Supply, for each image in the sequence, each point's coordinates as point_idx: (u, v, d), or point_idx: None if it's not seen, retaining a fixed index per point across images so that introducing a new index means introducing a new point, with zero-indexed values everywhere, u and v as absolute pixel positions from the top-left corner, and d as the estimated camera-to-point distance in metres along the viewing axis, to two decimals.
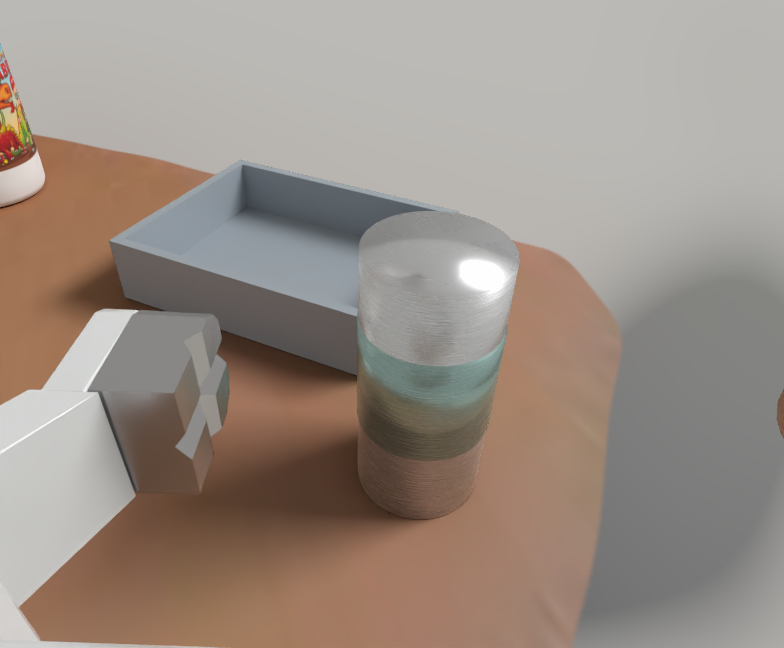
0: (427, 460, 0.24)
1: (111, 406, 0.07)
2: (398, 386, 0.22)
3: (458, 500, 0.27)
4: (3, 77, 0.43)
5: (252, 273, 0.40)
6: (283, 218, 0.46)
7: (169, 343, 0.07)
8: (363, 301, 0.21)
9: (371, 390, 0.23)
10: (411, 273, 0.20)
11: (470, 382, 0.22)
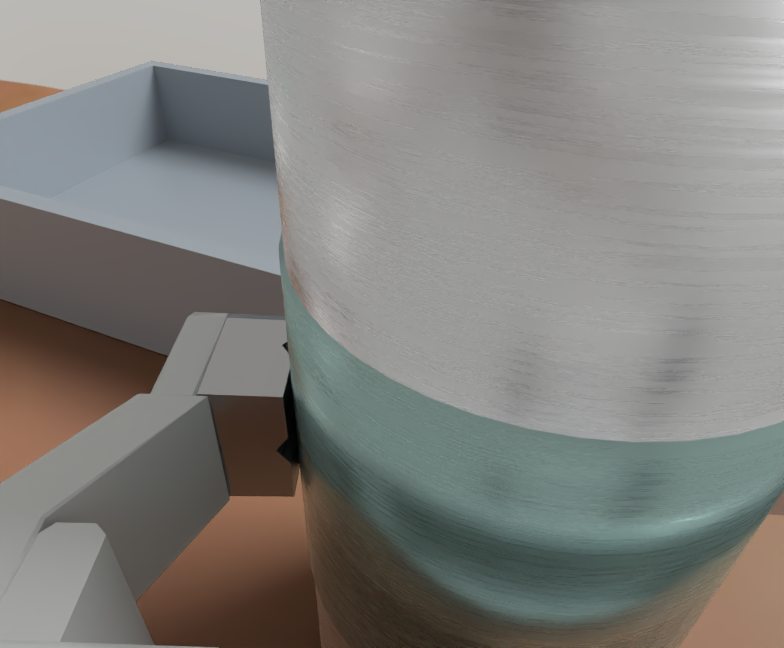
0: None
1: (218, 410, 0.07)
2: (444, 515, 0.05)
3: None
4: None
5: None
6: (222, 153, 0.29)
7: (268, 346, 0.07)
8: (281, 138, 0.05)
9: (336, 511, 0.06)
10: None
11: (760, 498, 0.05)
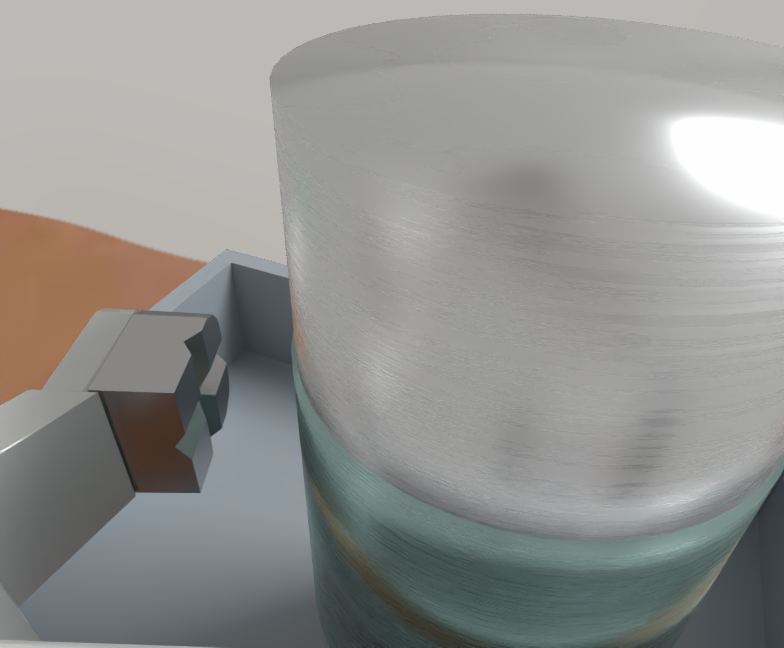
0: None
1: (111, 406, 0.07)
2: (434, 590, 0.06)
3: None
4: None
5: (261, 609, 0.14)
6: None
7: (169, 343, 0.07)
8: (296, 283, 0.06)
9: (342, 576, 0.07)
10: (499, 136, 0.04)
11: (699, 575, 0.06)
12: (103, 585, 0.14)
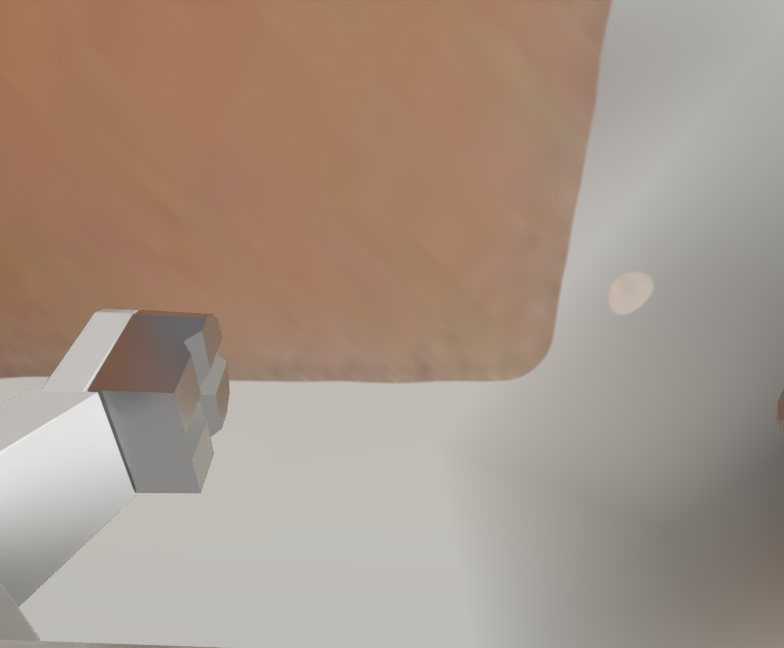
0: None
1: (111, 406, 0.07)
2: None
3: None
4: None
5: None
6: None
7: (169, 343, 0.07)
8: None
9: None
10: None
11: None
12: None
